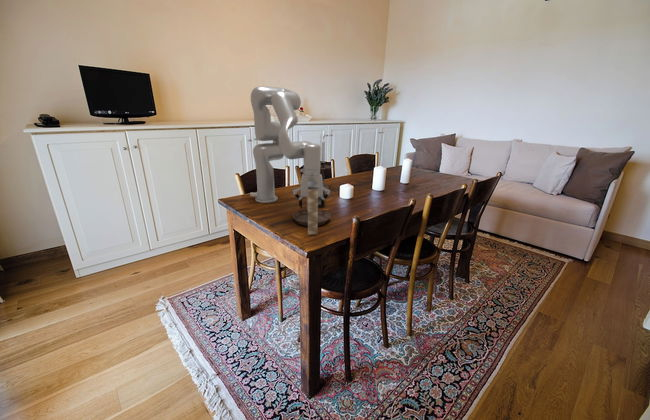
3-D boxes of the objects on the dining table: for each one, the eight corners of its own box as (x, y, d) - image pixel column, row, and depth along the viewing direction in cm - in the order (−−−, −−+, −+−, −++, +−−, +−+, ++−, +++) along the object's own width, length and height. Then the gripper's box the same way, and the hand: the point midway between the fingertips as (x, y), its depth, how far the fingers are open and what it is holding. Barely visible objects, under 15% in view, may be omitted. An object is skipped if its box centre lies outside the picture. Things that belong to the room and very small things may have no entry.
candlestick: (329, 185, 193) (331, 133, 180) (331, 190, 183) (333, 134, 170) (314, 185, 192) (314, 132, 180) (314, 190, 182) (315, 134, 170)
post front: (307, 234, 119) (308, 187, 112) (307, 226, 127) (307, 181, 120) (317, 234, 120) (318, 187, 112) (316, 226, 127) (317, 181, 120)
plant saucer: (302, 212, 145) (302, 206, 144) (335, 217, 139) (335, 211, 138) (286, 224, 129) (286, 218, 128) (321, 231, 123) (321, 224, 122)
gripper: (292, 173, 122) (292, 210, 128) (331, 173, 123) (330, 210, 129) (292, 169, 129) (293, 204, 135) (330, 170, 130) (329, 204, 136)
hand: (311, 207), depth 132 cm, fingers open, 9 cm apart
